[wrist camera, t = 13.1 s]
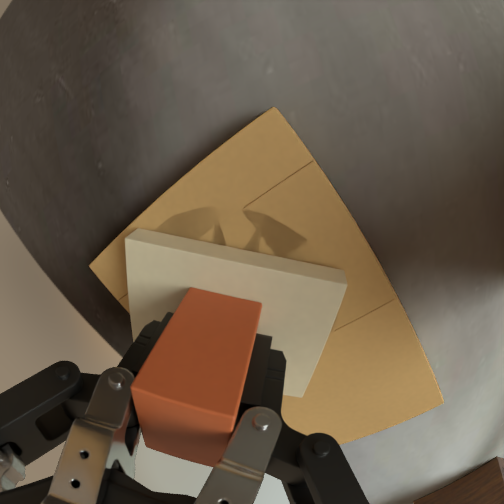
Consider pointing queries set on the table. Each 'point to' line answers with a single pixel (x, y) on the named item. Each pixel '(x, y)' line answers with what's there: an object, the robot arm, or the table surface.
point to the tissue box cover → (473, 487)
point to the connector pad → (244, 276)
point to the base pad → (305, 250)
